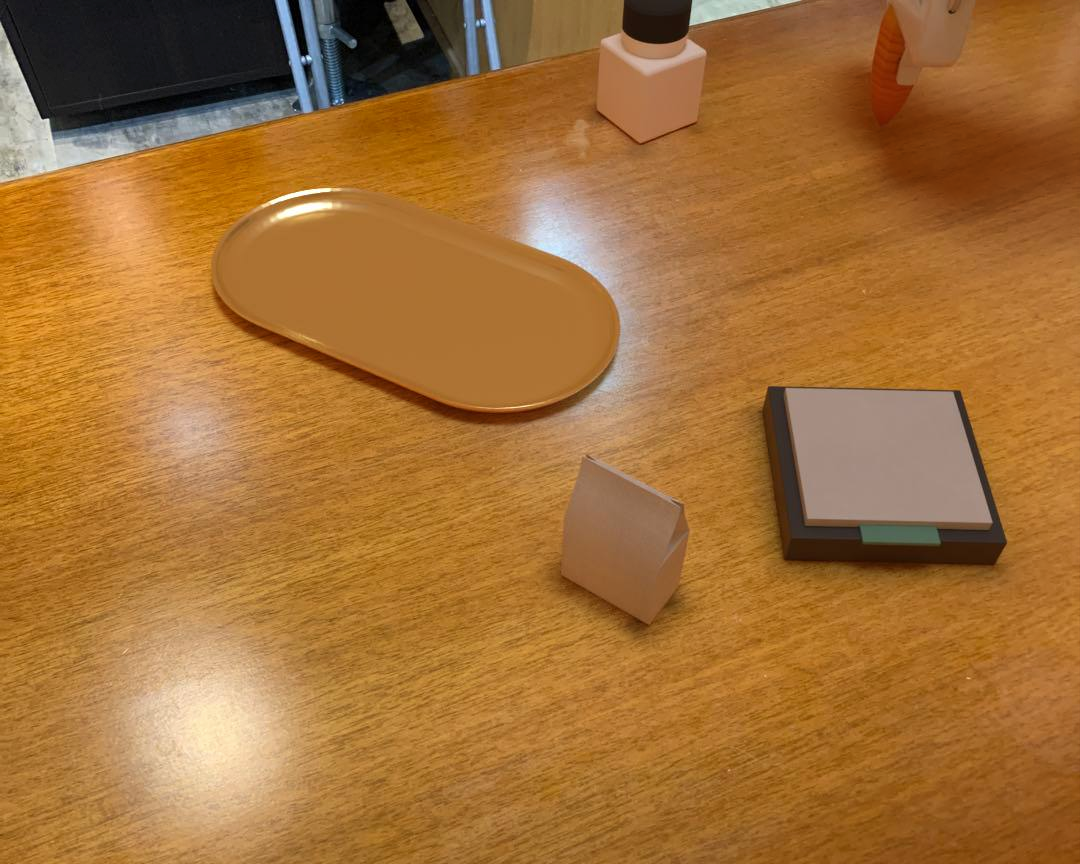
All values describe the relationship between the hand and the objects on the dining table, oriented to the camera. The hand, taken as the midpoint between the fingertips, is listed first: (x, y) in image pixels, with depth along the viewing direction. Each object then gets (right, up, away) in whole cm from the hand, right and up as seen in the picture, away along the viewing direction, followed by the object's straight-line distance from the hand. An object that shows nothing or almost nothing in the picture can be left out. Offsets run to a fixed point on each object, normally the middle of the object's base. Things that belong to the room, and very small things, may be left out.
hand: (898, 63), depth 99 cm
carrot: (0, -4, +5) cm, 6 cm away
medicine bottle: (-22, -3, +6) cm, 23 cm away
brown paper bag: (-27, -46, -28) cm, 60 cm away
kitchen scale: (-9, -39, -22) cm, 46 cm away
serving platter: (-43, -24, -11) cm, 51 cm away
